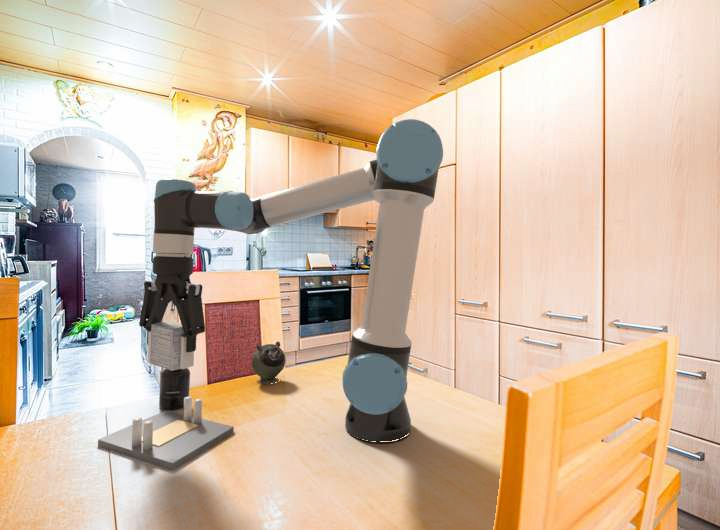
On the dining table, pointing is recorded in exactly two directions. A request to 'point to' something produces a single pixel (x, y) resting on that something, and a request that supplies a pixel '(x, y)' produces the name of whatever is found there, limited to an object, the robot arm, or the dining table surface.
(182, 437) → the pin tray
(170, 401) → the supplement bottle
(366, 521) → the dining table surface
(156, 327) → the medicine box
